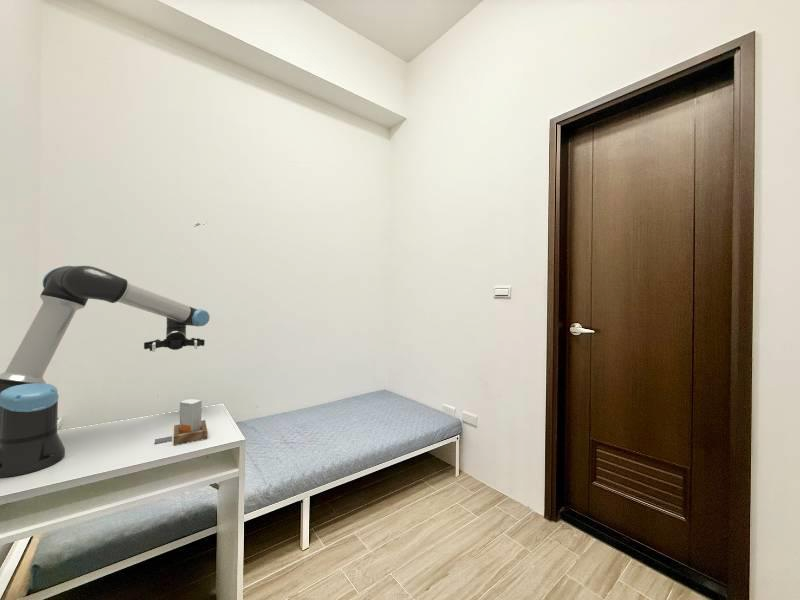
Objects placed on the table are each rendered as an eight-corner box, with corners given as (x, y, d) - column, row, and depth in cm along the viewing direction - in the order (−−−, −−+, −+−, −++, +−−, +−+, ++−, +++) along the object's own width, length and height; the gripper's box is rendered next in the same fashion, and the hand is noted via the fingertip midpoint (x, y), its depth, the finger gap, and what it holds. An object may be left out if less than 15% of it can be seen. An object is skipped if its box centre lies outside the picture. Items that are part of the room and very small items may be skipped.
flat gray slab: (154, 444, 112) (154, 443, 112) (155, 440, 115) (155, 439, 115) (171, 441, 115) (171, 440, 115) (172, 436, 118) (172, 436, 118)
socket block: (173, 445, 111) (173, 436, 111) (174, 433, 121) (174, 425, 121) (207, 438, 117) (207, 430, 117) (204, 427, 127) (205, 419, 127)
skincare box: (178, 434, 118) (179, 401, 118) (189, 429, 122) (190, 398, 122) (191, 436, 116) (191, 403, 116) (201, 432, 120) (202, 400, 120)
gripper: (208, 346, 150) (212, 353, 132) (139, 350, 136) (133, 359, 118) (208, 330, 150) (212, 335, 132) (140, 333, 136) (134, 338, 118)
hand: (175, 346), depth 125 cm, fingers open, 13 cm apart
